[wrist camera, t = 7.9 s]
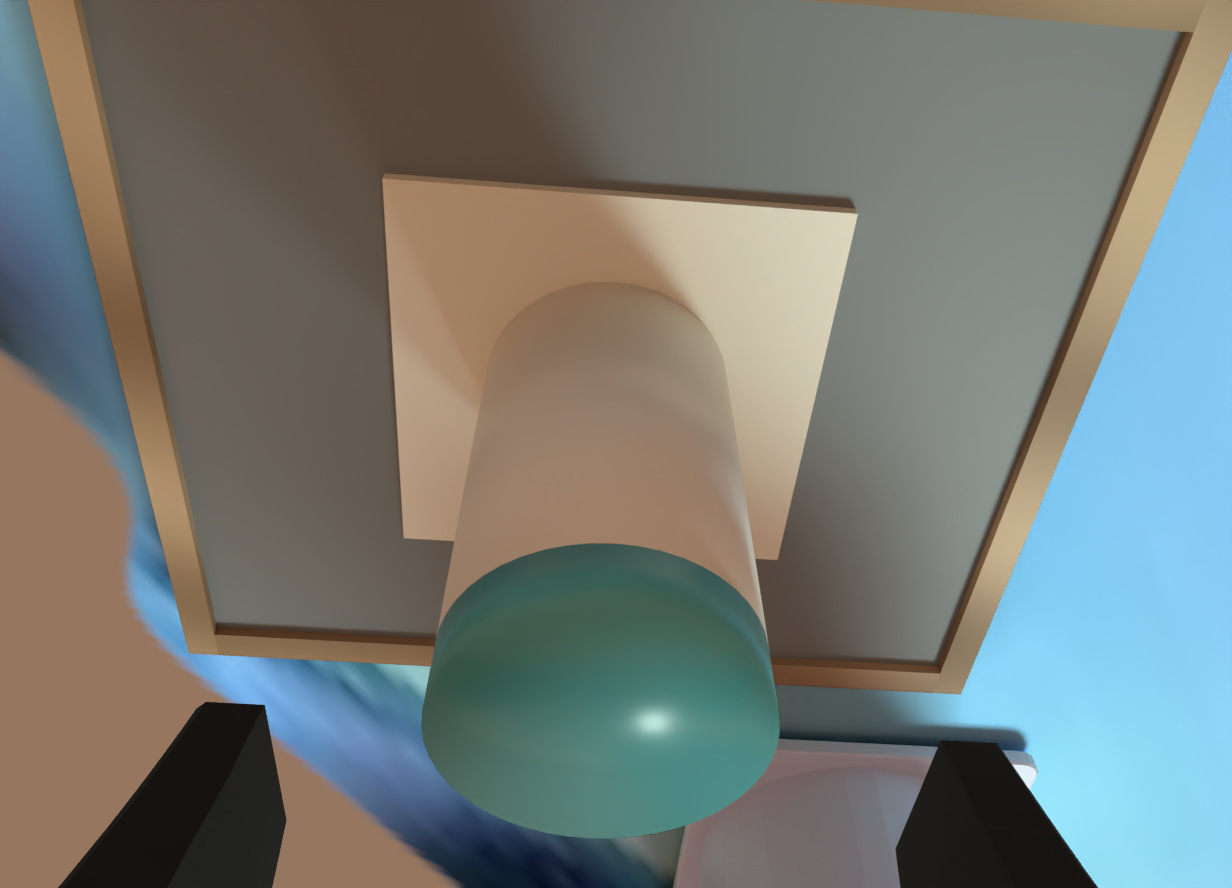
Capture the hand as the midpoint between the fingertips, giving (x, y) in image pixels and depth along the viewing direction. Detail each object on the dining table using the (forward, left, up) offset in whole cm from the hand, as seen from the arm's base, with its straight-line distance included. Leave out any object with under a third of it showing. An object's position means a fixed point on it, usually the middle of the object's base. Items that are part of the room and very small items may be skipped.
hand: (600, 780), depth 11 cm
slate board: (0, 0, -9) cm, 9 cm away
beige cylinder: (0, 0, -8) cm, 8 cm away
